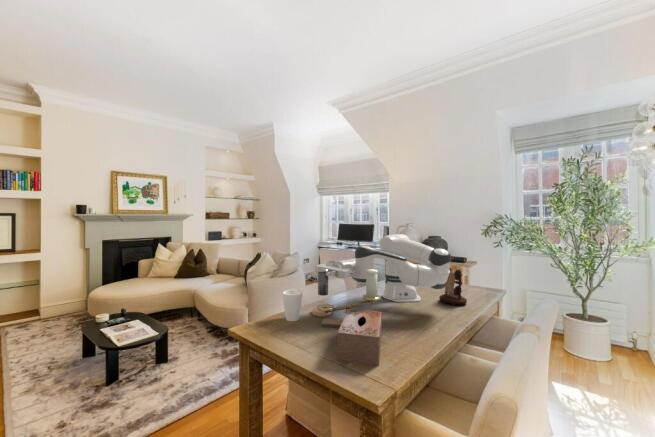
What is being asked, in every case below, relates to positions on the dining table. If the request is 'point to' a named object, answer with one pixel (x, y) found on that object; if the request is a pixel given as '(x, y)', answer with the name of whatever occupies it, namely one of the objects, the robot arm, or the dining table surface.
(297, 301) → the foam cup
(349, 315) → the tissue box cover
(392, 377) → the dining table surface
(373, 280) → the light tin
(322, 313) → the dish
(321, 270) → the tin
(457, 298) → the brown wooden figurine
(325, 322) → the balance
